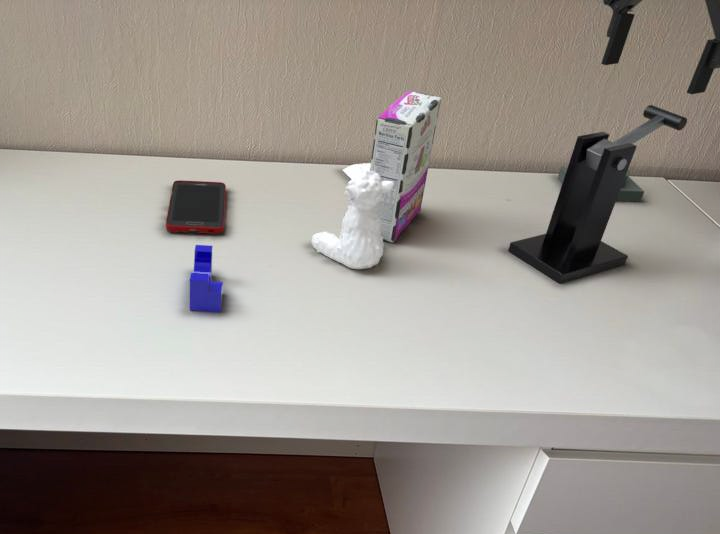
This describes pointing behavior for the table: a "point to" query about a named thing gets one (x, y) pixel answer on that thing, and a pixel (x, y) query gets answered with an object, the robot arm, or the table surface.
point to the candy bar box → (404, 158)
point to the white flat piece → (356, 169)
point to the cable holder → (204, 283)
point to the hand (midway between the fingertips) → (650, 77)
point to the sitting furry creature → (358, 224)
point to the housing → (627, 191)
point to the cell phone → (196, 207)
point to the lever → (636, 132)
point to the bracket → (580, 216)
